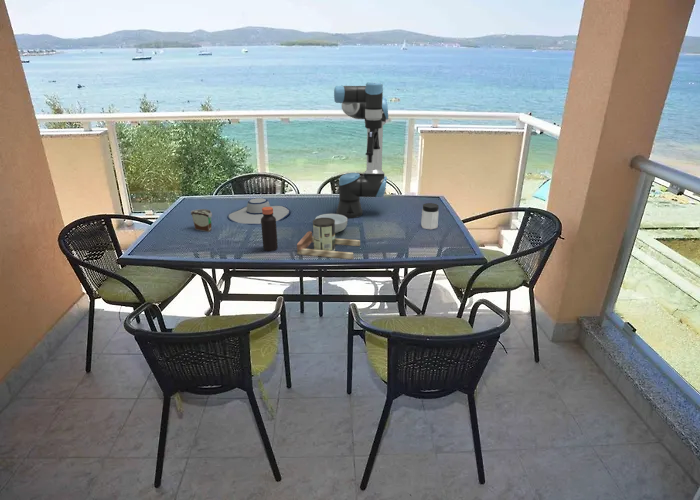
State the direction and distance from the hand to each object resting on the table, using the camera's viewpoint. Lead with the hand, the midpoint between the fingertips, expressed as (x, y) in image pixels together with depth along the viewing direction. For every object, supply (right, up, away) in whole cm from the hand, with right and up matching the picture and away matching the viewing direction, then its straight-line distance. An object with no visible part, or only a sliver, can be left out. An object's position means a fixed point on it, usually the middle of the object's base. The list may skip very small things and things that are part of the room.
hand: (372, 166), depth 208 cm
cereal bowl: (-20, -29, +25) cm, 44 cm away
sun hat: (-63, -19, +52) cm, 84 cm away
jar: (+32, -27, +31) cm, 52 cm away
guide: (-20, -39, +3) cm, 44 cm away
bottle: (-48, -38, +4) cm, 62 cm away
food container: (-87, -28, +29) cm, 96 cm away
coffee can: (-23, -39, +3) cm, 45 cm away
